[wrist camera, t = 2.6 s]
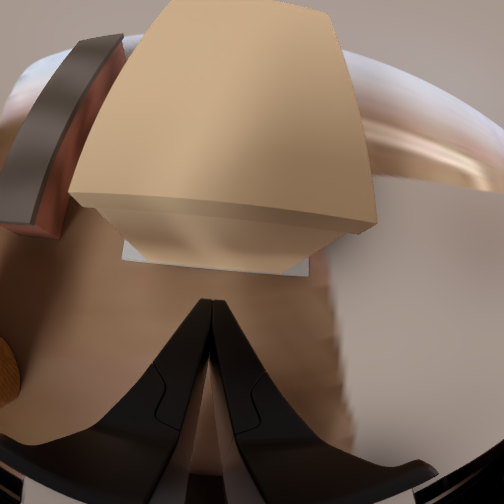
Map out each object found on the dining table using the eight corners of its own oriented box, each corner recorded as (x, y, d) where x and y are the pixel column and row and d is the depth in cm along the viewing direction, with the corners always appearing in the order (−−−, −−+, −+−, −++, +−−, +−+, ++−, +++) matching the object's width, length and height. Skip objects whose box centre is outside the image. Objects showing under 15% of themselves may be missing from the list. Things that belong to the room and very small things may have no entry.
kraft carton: (283, 276, 18) (377, 223, 8) (145, 264, 17) (67, 192, 6) (285, 114, 22) (327, 13, 11) (180, 102, 21) (177, -7, 10)
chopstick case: (61, 242, 17) (29, 223, 13) (16, 237, 16) (-15, 219, 12) (129, 64, 22) (123, 33, 17) (88, 69, 21) (79, 41, 17)
